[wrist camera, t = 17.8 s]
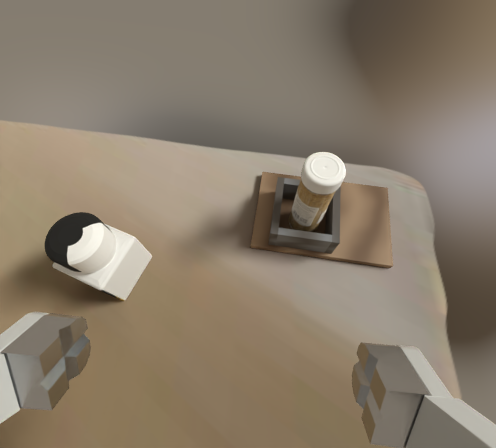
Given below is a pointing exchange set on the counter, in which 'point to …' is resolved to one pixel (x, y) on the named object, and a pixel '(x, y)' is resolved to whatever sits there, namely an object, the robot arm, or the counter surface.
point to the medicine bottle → (96, 254)
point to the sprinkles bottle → (316, 190)
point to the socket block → (326, 223)
